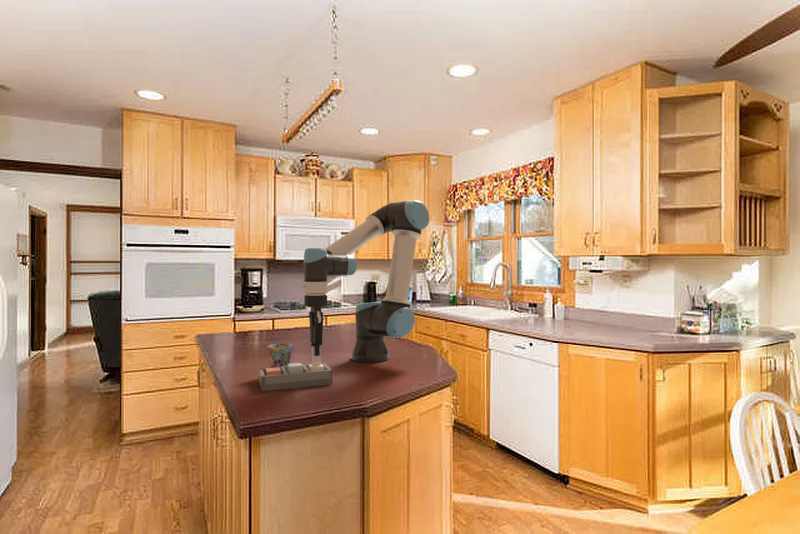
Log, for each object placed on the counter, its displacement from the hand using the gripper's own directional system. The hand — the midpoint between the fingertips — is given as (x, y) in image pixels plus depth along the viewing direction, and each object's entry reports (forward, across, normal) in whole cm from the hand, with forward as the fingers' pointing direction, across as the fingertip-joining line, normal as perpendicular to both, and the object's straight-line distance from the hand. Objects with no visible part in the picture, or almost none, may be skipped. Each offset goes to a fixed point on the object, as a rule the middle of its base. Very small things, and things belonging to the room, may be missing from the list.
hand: (316, 364), depth 153 cm
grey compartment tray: (+5, 0, -7) cm, 9 cm away
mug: (+6, -13, -10) cm, 17 cm away
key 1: (+3, 0, -14) cm, 14 cm away
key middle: (+2, 0, -7) cm, 7 cm away
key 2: (+3, 0, 0) cm, 3 cm away
